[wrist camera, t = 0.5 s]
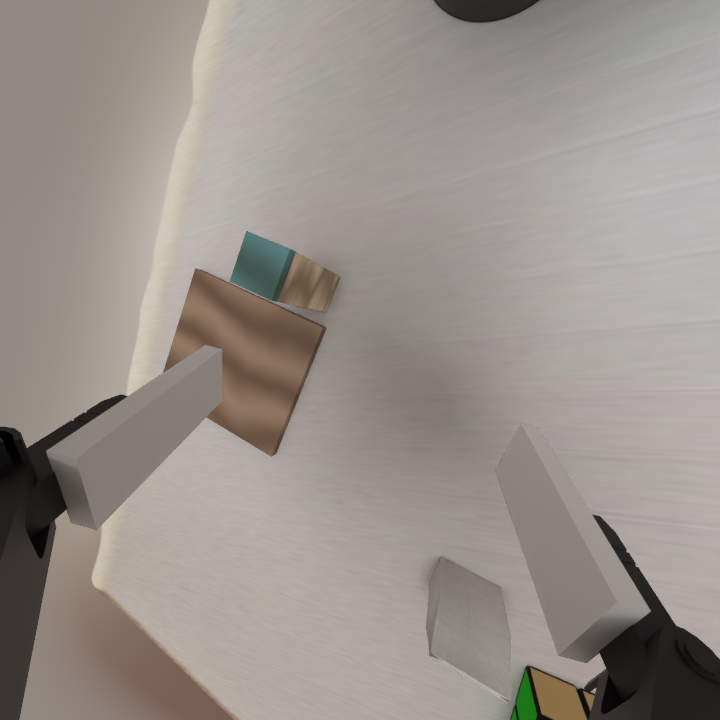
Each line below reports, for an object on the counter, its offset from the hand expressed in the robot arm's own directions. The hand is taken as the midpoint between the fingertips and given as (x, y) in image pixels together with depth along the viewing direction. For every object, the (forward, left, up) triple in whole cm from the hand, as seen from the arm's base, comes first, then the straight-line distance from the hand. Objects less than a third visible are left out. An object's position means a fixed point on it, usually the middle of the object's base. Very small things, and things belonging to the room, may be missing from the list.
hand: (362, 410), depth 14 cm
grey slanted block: (+20, +15, -23) cm, 34 cm away
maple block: (-4, -15, -22) cm, 27 cm away
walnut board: (+9, -22, -22) cm, 33 cm away
